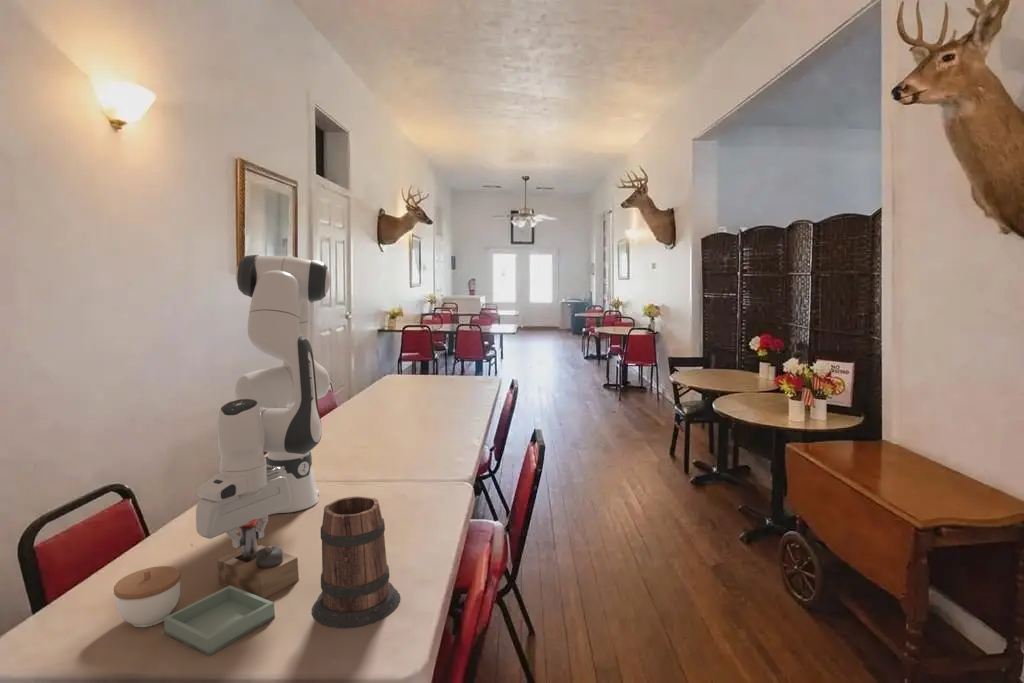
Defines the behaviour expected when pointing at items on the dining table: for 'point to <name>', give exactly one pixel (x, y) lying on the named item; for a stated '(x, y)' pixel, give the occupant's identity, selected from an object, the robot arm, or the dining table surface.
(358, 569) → the tankard
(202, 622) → the tray
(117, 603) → the lidded jar
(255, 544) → the lock pin
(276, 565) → the block
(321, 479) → the dining table surface
